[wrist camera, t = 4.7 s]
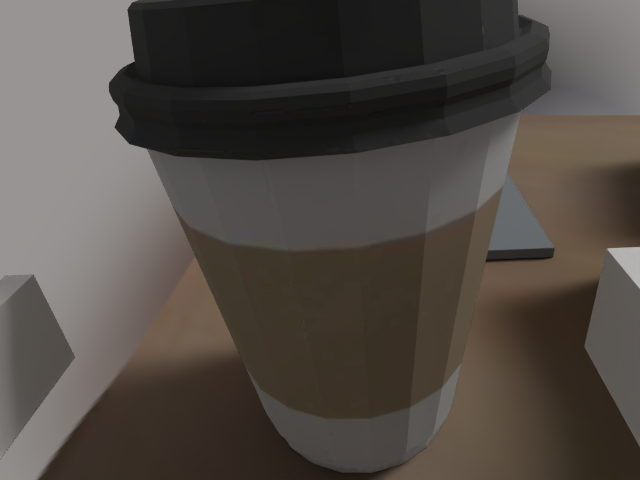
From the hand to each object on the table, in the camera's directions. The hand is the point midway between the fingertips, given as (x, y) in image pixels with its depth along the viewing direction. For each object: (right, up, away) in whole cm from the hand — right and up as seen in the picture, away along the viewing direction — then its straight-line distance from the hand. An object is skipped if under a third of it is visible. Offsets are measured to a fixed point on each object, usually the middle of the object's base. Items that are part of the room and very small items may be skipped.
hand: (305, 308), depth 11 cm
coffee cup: (+2, -5, +8) cm, 10 cm away
